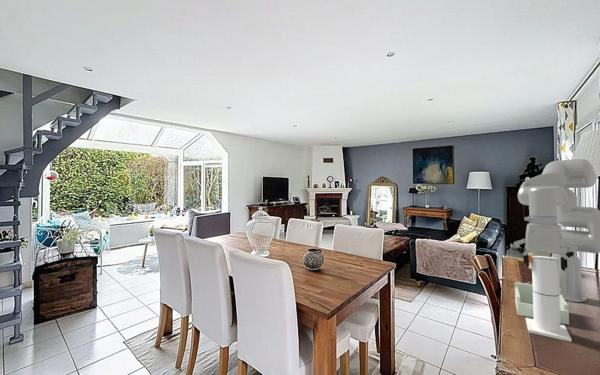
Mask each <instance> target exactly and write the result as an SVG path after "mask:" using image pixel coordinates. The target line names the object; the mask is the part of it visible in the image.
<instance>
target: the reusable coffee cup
mask: <svg viewBox="0 0 600 375" xmlns="http://www.w3.org/2000/svg"><path fill="white" fill-rule="evenodd" d="M525 249H526V244H524V250H525ZM528 256H529V266H528V269H529V268H530V269H532V256H546V257H552V255H551V253H541V252H532V251H531V252H530V253H528ZM530 269H529V270H530Z"/></svg>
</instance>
